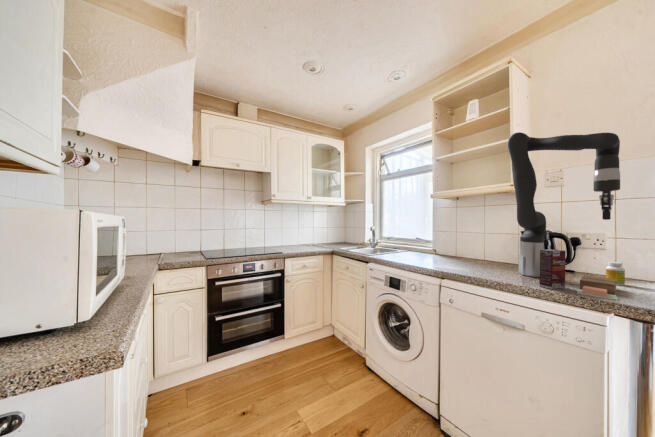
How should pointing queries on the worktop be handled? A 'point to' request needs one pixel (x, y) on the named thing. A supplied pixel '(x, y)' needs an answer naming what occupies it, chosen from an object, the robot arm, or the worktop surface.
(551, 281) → the supplement box
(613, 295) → the mat
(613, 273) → the supplement bottle
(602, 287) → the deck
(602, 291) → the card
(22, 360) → the worktop surface
